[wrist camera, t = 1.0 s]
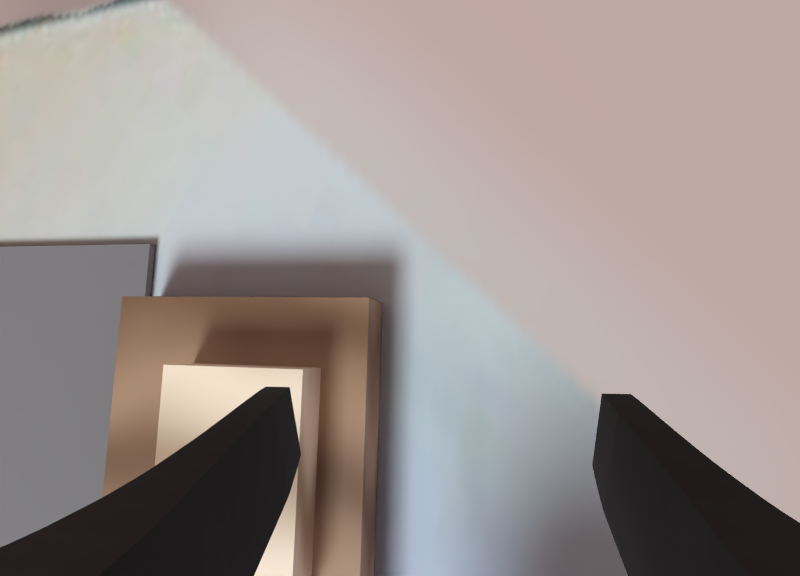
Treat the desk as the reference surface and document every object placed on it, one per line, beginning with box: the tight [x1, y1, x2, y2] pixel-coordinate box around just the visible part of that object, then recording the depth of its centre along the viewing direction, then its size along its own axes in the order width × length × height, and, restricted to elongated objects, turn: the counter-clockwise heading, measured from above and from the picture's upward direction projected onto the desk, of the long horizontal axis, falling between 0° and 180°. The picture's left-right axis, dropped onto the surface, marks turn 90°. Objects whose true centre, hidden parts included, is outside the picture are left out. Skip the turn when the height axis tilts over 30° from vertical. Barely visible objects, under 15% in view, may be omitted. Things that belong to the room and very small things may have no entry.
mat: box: [0, 244, 155, 547], centre depth 25 cm, size 22×14×1 cm, turn 179°
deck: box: [102, 296, 382, 576], centre depth 21 cm, size 16×12×2 cm
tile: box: [155, 363, 321, 576], centre depth 19 cm, size 9×6×2 cm, turn 179°
